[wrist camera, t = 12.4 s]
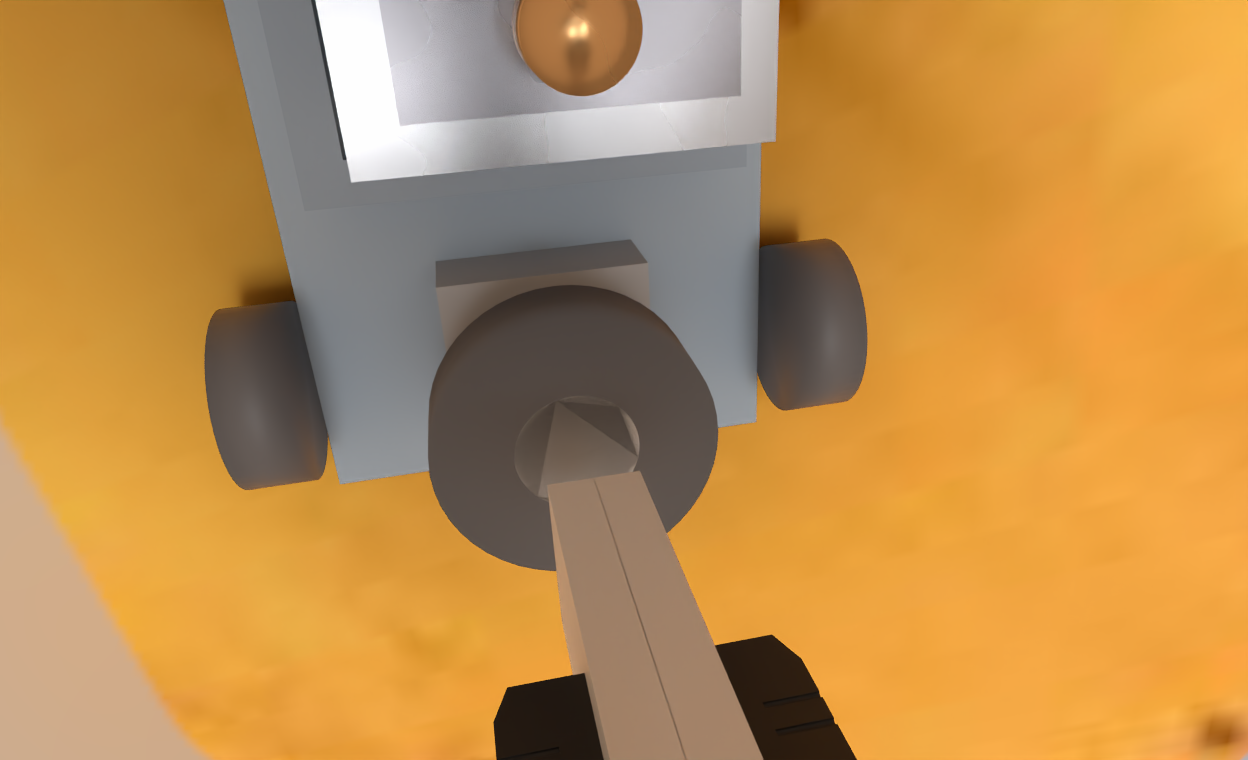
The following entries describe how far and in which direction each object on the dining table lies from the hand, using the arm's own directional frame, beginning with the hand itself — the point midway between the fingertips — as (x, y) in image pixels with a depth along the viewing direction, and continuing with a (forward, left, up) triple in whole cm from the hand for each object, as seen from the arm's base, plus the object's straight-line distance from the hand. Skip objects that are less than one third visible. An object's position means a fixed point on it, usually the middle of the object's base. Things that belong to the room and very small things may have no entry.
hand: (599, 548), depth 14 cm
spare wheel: (0, 0, -8) cm, 8 cm away
